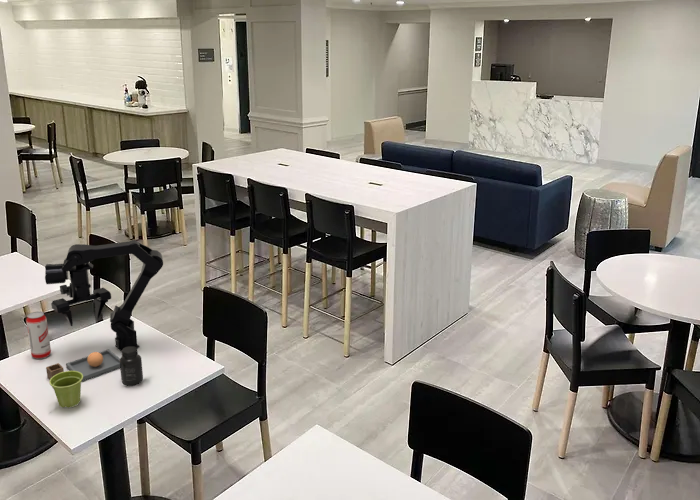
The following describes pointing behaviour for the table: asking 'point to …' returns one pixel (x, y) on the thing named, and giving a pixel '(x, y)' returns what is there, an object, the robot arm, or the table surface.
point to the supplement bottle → (131, 366)
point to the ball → (95, 359)
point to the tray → (89, 372)
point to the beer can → (38, 335)
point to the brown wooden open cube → (54, 370)
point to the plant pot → (67, 387)
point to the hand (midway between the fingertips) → (84, 321)
